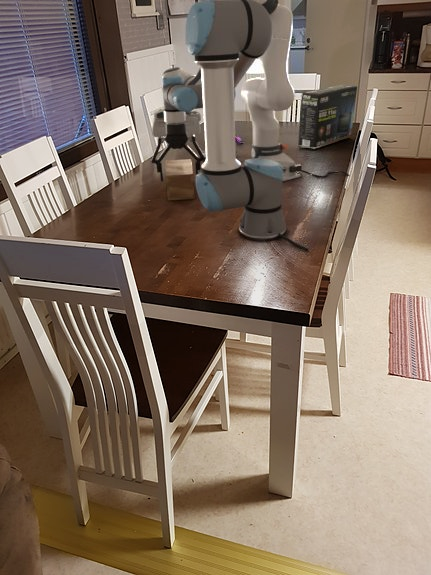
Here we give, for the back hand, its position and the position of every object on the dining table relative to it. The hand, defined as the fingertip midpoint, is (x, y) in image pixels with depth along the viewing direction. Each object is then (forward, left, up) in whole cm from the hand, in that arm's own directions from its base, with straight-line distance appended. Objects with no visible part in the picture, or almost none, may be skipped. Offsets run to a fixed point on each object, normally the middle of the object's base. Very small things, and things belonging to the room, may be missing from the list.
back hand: (177, 146), depth 194 cm
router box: (-88, -22, -14) cm, 92 cm away
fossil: (-26, -22, -14) cm, 37 cm away
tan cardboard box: (+5, +15, -14) cm, 21 cm away
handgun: (-47, -52, -14) cm, 72 cm away
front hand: (+7, +22, -7) cm, 24 cm away
